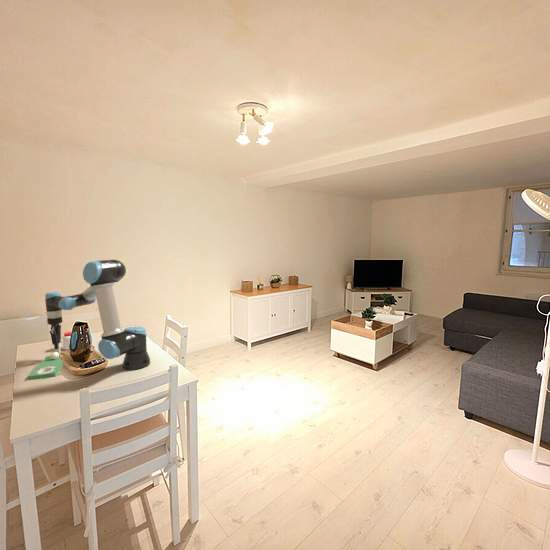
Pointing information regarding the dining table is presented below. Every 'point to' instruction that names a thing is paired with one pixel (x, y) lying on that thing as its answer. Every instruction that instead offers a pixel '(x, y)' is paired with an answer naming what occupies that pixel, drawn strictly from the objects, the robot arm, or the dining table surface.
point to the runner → (47, 368)
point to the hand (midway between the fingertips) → (57, 353)
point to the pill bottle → (66, 340)
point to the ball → (54, 355)
